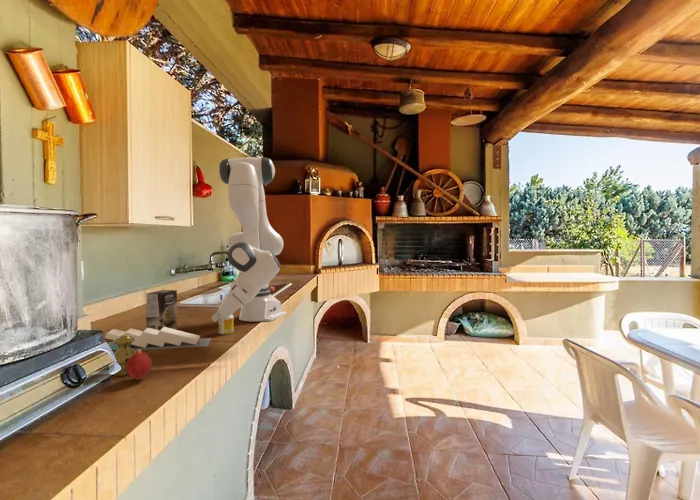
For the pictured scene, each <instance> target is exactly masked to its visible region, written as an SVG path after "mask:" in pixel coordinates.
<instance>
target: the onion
mask: <svg viewBox="0 0 700 500" xmlns="http://www.w3.org/2000/svg"><path fill="white" fill-rule="evenodd" d="M152 362H153V361H152V359H151V357H150V356H149V355H148V354H147V353H145V352H143V350H137V351H136V353H135V354H134V355H132V356H131V357H130V358H129V360H128V361H127V364H126V372H127V373H128V375H127V376H130V377H131V378H133V379H135V380H136V381H141V380H142V379H144V378H145V377H146V376H147V375H148V374H150V372H151V370H152V366H153V363H152Z"/></svg>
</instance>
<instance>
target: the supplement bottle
mask: <svg viewBox="0 0 700 500" xmlns="http://www.w3.org/2000/svg"><path fill="white" fill-rule="evenodd" d="M234 317H235V316H234V315H233V314H232V315H230V316H229V317H228V318H226V319H224V318H222V317H220V318H219V319H218V334H219V335H230V334H233V333H234V332H235V331H234V325H235V324H234V321H235V319H234Z"/></svg>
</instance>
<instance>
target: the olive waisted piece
mask: <svg viewBox="0 0 700 500" xmlns="http://www.w3.org/2000/svg"><path fill="white" fill-rule="evenodd" d="M134 340H135V338H134V337H132V336H128V335H122V336H120V337H118V338H116V339H115V340H112V342H113V343H114V344H116V345H118V347H119V348H118V350H115V351H114V352H113V354H114V355H115V358H116V360H117V361H116V362H117V363H118V364H119V365H120V366H121V370H120V371H119V372H118V373H116V374H115V375H114V376H113V377H123V376H129V375H128V373H127V372H126V364H127V361H128V360H129V358H130V357H131V356H132V355H134V354H135V353H136V351H134V349H132V348H131V347H130V344H131V343H132V342H133V341H134Z"/></svg>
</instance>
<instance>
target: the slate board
mask: <svg viewBox="0 0 700 500" xmlns="http://www.w3.org/2000/svg"><path fill="white" fill-rule="evenodd" d="M211 340H212V337H209V338H208V337H207V338H206V337H205V338H199V340H198V342H197V344H196V345H194V344H190V343H186V342H182V343H181V345H180V346H178V345H174V344H170V343H166V344H165V345H164V346H163V347H161V346H157V345H153V344H149V345H148V346H147V347H146V348H144V347H140V346H136V345H133V346H132V347H131V348H132V349H134V351H137V350H141V351H147V350H148V351H149V350H151V351H152V350H167V349H181V348H198V347H199V348H200V347H208V346H209V345H210V342H211Z"/></svg>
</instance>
